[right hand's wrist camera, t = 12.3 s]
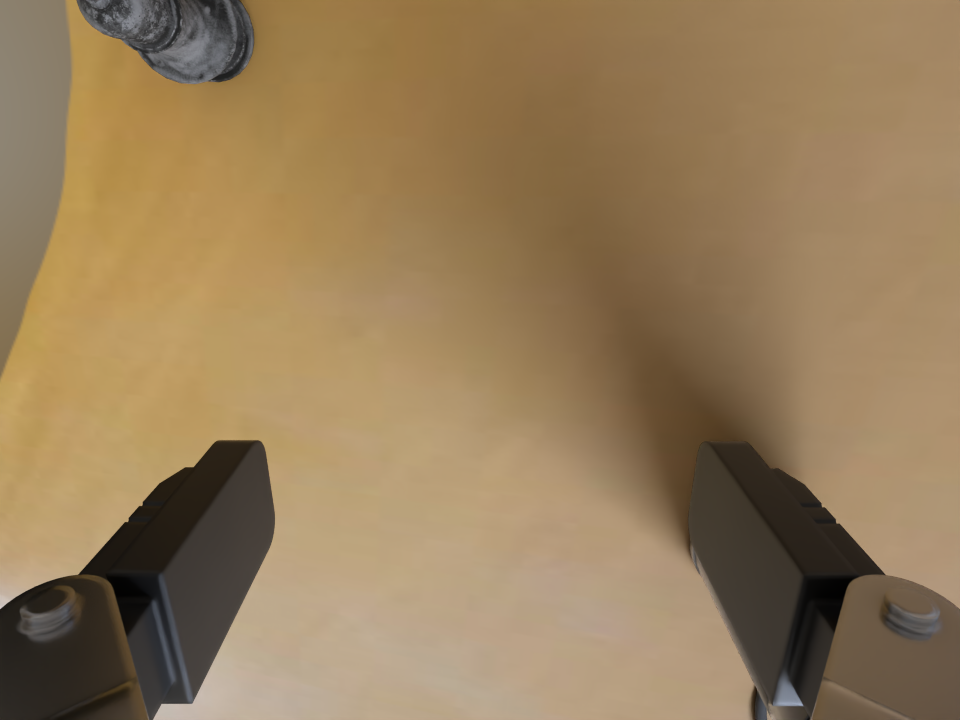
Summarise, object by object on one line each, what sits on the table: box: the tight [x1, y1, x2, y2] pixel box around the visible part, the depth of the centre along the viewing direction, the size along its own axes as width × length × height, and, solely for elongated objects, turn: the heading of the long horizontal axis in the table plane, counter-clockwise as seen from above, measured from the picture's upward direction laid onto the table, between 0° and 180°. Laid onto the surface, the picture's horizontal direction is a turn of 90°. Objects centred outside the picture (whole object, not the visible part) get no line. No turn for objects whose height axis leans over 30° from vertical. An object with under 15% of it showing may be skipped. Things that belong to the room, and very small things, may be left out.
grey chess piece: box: [77, 0, 254, 84], centre depth 30 cm, size 6×6×12 cm
